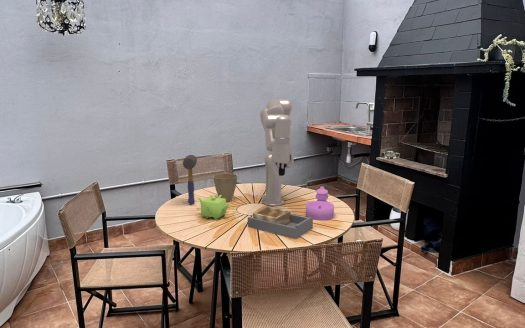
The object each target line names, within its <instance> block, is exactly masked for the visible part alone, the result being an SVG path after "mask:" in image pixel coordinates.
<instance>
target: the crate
mask: <svg viewBox="0 0 525 328" xmlns="http://www.w3.org/2000/svg"><path fill="white" fill-rule="evenodd" d="M291 214H292V212H291V210H287V209H281V208H277V207H274V206H266V207H263V208H261V209H260V210H257V211H254V212H253V213H252V218H256V219H261V220H265V221H269V222H273V223H278V224H282V225H286V224H288V223H289V222H290V218H291Z"/></svg>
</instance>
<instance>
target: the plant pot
mask: <svg viewBox="0 0 525 328" xmlns="http://www.w3.org/2000/svg"><path fill="white" fill-rule="evenodd" d="M212 177H213V183H214V187H215V191H216V194H217V198H218V197H219V196H220V195H222V196H221V198H224V199H226V203H229V202H232V200H233V197H234V194H235V191H236V187H237V182H238V174H235V173H231V172H229V173H228V172H223V173H222V172H221V173H217V174H214V175H213V176H212Z"/></svg>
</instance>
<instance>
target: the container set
mask: <svg viewBox="0 0 525 328" xmlns="http://www.w3.org/2000/svg"><path fill="white" fill-rule="evenodd" d="M315 193H316V194H315V199H316V200H313V201H308V202H306V204H305V217H308V218H309V217H312V219H313V221H323V222H324V221H329V220H332V219H334V213H335V204H334V203H332V202H330V201H329V202H328V201H327V200H328V198H329V195H328V194H329V191H328V189H325V186H320V188H318V189H316V192H315Z"/></svg>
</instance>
